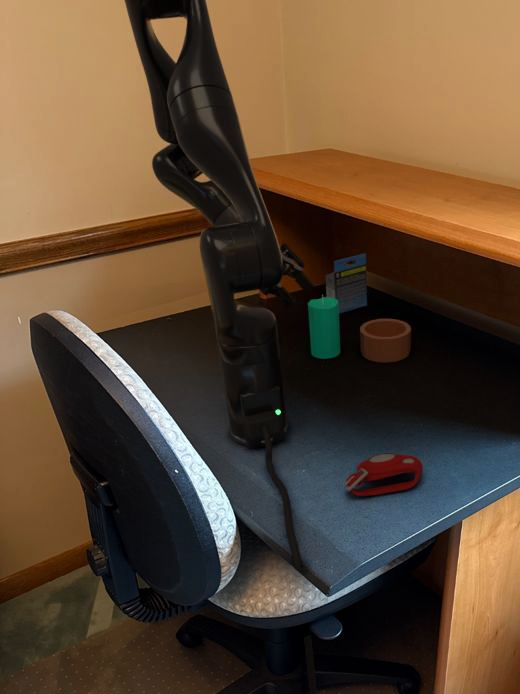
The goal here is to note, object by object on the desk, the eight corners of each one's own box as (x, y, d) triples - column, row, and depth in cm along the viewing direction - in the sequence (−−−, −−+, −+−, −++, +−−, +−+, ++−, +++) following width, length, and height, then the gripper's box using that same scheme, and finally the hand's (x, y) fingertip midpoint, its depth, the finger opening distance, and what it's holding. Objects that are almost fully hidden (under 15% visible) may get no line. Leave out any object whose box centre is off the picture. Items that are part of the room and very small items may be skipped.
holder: (418, 356, 133) (419, 333, 130) (373, 366, 130) (372, 342, 127) (396, 338, 140) (397, 315, 137) (353, 346, 137) (352, 323, 134)
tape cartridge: (357, 301, 158) (356, 248, 150) (367, 306, 155) (367, 252, 148) (326, 310, 153) (323, 256, 146) (336, 315, 151) (333, 261, 144)
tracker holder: (363, 449, 104) (425, 444, 100) (368, 476, 105) (429, 472, 101) (335, 476, 93) (403, 472, 89) (341, 506, 94) (408, 503, 91)
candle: (342, 346, 137) (339, 289, 130) (338, 359, 133) (336, 300, 125) (313, 345, 138) (309, 289, 131) (308, 358, 133) (304, 300, 126)
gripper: (234, 229, 119) (297, 298, 122) (271, 209, 130) (328, 274, 133) (213, 256, 124) (274, 322, 127) (251, 235, 135) (306, 296, 138)
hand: (302, 297), depth 130 cm, fingers open, 8 cm apart
